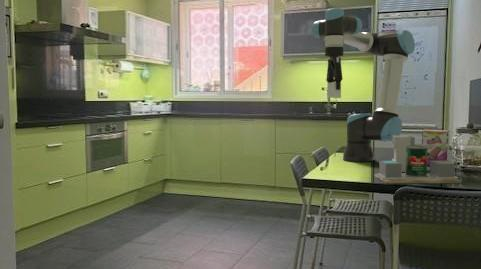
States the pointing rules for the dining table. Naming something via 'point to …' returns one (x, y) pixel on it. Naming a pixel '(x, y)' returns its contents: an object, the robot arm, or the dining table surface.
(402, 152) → the circuit breaker
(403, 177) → the tan flat panel
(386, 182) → the board
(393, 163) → the block
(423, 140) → the candy bar box
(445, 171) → the module
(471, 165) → the dining table surface
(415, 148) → the canned tomato
